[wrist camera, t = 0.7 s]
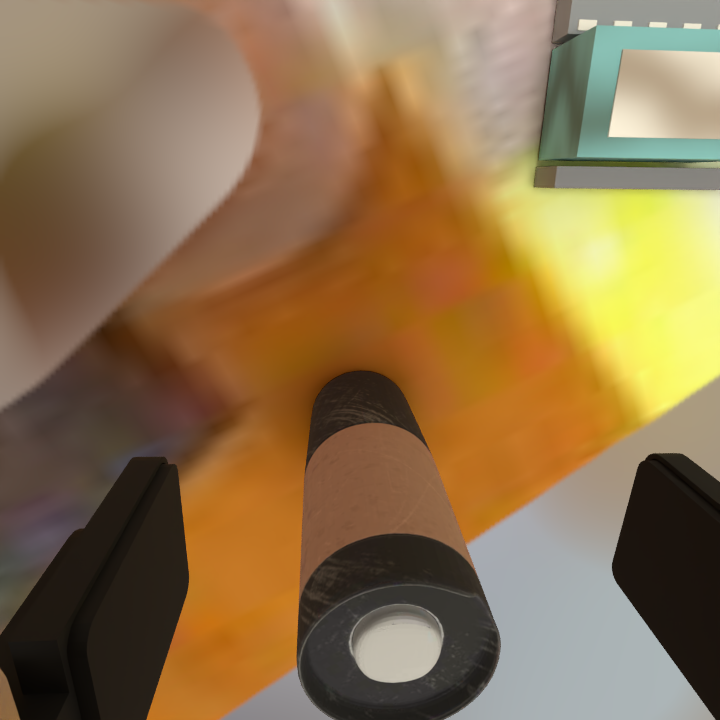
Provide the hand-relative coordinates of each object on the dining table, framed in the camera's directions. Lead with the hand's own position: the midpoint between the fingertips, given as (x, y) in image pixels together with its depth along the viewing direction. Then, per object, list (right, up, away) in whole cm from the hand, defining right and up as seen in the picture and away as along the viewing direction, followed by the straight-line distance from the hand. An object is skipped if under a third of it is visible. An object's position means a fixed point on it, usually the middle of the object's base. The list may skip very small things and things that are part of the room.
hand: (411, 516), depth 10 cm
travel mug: (-1, -1, +27) cm, 27 cm away
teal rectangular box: (+15, +19, +21) cm, 32 cm away
